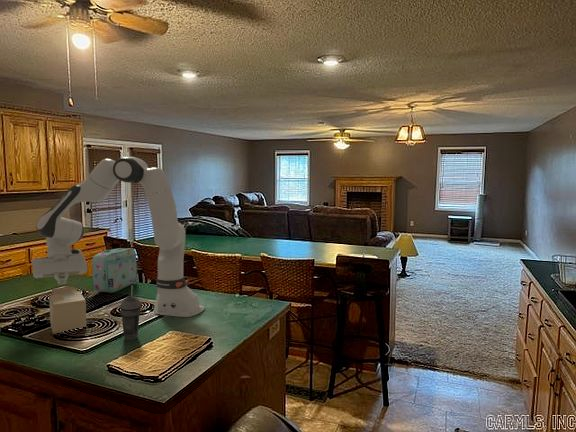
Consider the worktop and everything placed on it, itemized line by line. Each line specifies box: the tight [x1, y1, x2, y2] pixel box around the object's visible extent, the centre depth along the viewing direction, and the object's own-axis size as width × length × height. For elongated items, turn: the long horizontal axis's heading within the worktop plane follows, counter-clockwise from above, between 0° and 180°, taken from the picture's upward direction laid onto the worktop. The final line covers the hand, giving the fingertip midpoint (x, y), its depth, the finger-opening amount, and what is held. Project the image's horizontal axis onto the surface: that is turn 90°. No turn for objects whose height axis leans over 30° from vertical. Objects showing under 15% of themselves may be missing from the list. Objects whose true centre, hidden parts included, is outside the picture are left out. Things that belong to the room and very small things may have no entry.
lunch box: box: [91, 247, 138, 294], centre depth 208 cm, size 27×10×21 cm, turn 168°
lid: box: [49, 286, 86, 306], centre depth 158 cm, size 22×10×1 cm, turn 35°
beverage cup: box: [119, 284, 142, 341], centre depth 146 cm, size 7×7×20 cm
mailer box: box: [49, 297, 87, 336], centre depth 155 cm, size 12×11×11 cm
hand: (62, 283), depth 168 cm, fingers closed
